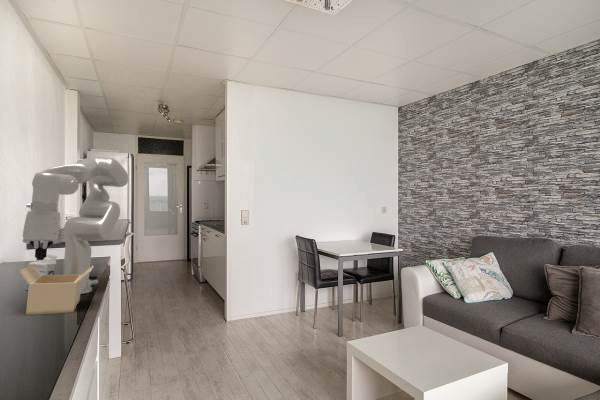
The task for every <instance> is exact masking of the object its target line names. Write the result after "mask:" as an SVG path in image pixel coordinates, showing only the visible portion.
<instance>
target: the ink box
mask: <svg viewBox="0 0 600 400" xmlns="http://www.w3.org/2000/svg"><path fill="white" fill-rule="evenodd" d="M48 258H49V259H48ZM31 264H32V265H33V267H34V268H35V269H36V271H37V272H38V274H39V275H56V268H57V255H53V254H47V255H46V258H44V260H37V261H31V262H28V266H29V265H31ZM37 278H38V277H37ZM33 281H34V280H33ZM29 284H30V283H29ZM29 284H28V283H27V282H26V285H25V286H26V289H29ZM26 289H25V290H26Z"/></svg>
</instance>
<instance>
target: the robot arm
mask: <svg viewBox="0 0 600 400" xmlns="http://www.w3.org/2000/svg"><path fill="white" fill-rule="evenodd" d="M87 182H88V188H89V193H88V195H87V197H86V198H85V200H84V202H83V203H82V205H81V206H80V209H79V211H78V215H79V216H73V217H70V218H68V219H67V220H66V221H65V223H64V228H63V231H64V232H63V233H64V239H65V240H64V241H65V242H64V243H65V245H64V246H65V247H64V258H63V265H62V275H82V274H83V273H85V272H86V271H87V270H88V269H89V268H90V267H91V260H92V247H91V245H90V243H89V241H105V240H107V239H109V238H110V237H111V234H112V232H113V231H114V229H115V227H116V225H117V223H118V221H119V218H120V214H121V207H120V205H119V204H118V203H117V202H116V201H111V200H110V194H109V193H108V191H107V190H106V189H105V188H104V187H114V188H121V187H123V188H124V187H125V186H127V184H128V182H129V175H128V172H127V171H126V168H124V167H123V165H122V164H121V163H120V162H119V161H118V160H116V159H115V158H113V157H106V156H105V157H104V156H102V157H101V156H89V157H86V158H84V159H82V160H79V161H77V162H76V163H73V164H66V165H65V164H64V165H62V166H61V165H60V166H55V167H50V168H47V169H44V170H42V171H40V172H36V173H35V174H34V176H33V179H32V181H31V185H32V196H31V202H30V203H26V205H25V207H26V208H29V209H30V210H28V211H27V213H26V215H25V219H24V220H25V221H24V225H23V230H22V242H23V243H25V244H29V245H31V246H32V247H33V248H34V249H35V251H34V258H36V261H39V260H44V258H45V259H47V258H46V255H48V253H47V251H48V248H49V247H50V246H52V245H56V244H60V243H61V234H62V231H61V230H62V226H61V225H62V222H61V219H62V218H61V213H60V212H59V200H60V198H59V197H60V195H65V196H66V195H67V196H68V195H69V196H71V195H73V194H75V193H76V192H77V191H78V189H79V187H80V184H85V183H87ZM41 241H43V244H42V246H41ZM98 284H99V280H98V279H90V273H89V274H87V275H86V276H85V277H84V278H83V279H82V281H81V292H80V295H84V294H88V293H91V292H92V291H93V287H92V285H98Z"/></svg>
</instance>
